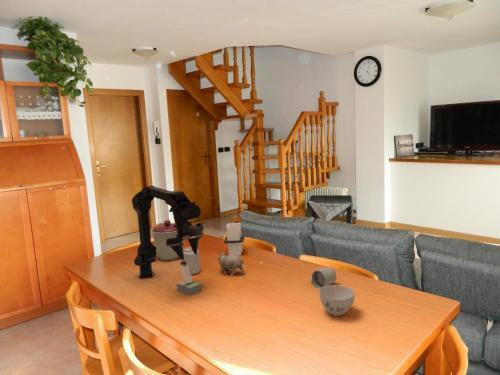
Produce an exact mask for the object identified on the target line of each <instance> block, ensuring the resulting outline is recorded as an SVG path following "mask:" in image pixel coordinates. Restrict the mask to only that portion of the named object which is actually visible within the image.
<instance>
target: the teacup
mask: <svg viewBox="0 0 500 375" xmlns="http://www.w3.org/2000/svg"><path fill="white" fill-rule="evenodd" d="M355 293H356V292H355V290H354V289H353V288H350V287H348V286H346V285H342V284H331V285H327V286H323V287H322V288H318V296H319V300H320V302H321V305H322V307H323V308H324V309H325V310H326V311H327V312H328V314H330V315H332V316H337V317H338V316H340V317H341V316H343V315H345V314H346V313H347V312H348V311H349V310H350V309H351V308H352V305H353V303H354V301H355V296H356V294H355Z"/></svg>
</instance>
